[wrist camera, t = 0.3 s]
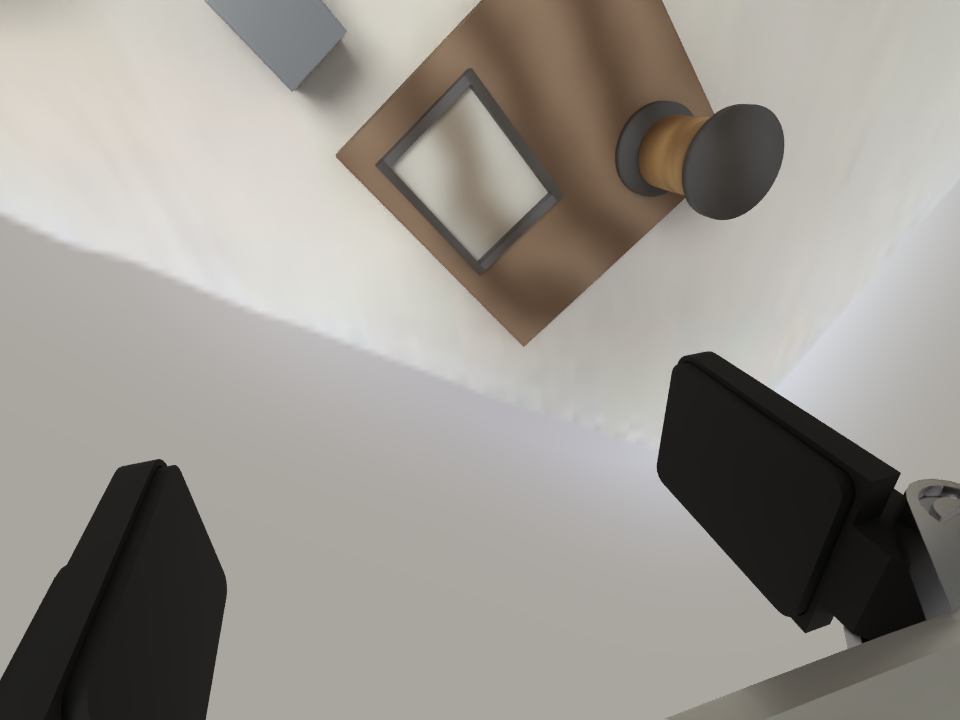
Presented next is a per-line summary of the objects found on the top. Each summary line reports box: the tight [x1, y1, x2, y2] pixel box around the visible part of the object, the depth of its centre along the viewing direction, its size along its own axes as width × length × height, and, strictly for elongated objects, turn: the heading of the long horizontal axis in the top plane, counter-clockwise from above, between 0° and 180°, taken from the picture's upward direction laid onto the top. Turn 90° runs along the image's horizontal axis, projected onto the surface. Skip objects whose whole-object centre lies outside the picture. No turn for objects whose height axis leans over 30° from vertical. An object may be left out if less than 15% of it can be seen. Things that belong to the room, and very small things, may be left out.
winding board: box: [336, 0, 784, 347], centre depth 32 cm, size 22×20×10 cm
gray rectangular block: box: [204, 0, 347, 91], centre depth 26 cm, size 4×6×6 cm, turn 41°
